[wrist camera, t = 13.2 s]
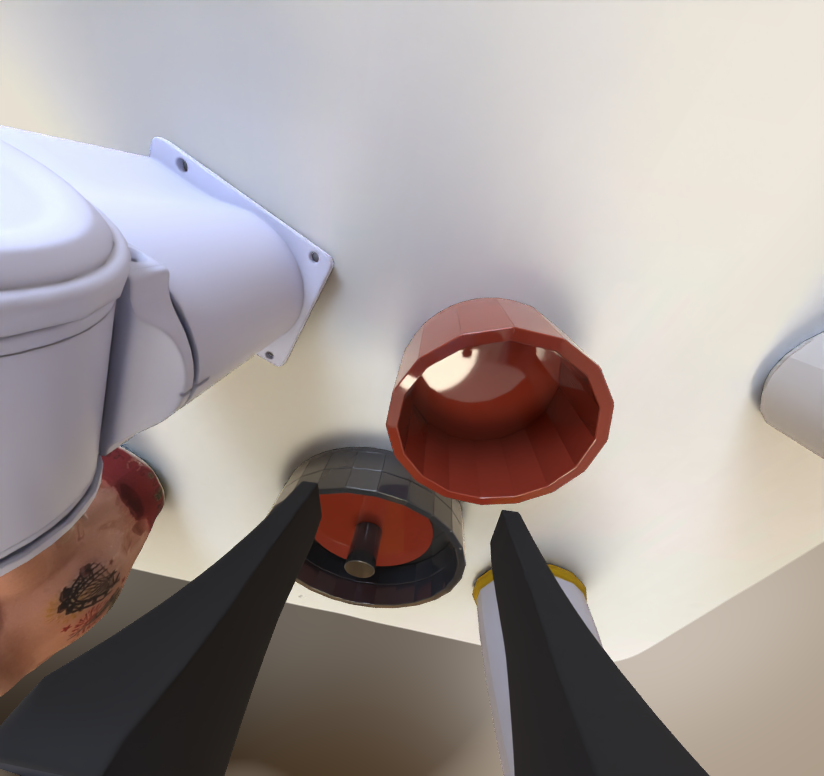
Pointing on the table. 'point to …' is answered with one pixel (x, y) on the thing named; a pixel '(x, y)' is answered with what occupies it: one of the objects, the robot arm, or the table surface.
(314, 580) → the pan
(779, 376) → the can
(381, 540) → the lid
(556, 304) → the table surface
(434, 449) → the reddish brown bowl
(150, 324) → the robot arm
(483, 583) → the soap bottle
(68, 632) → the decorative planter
